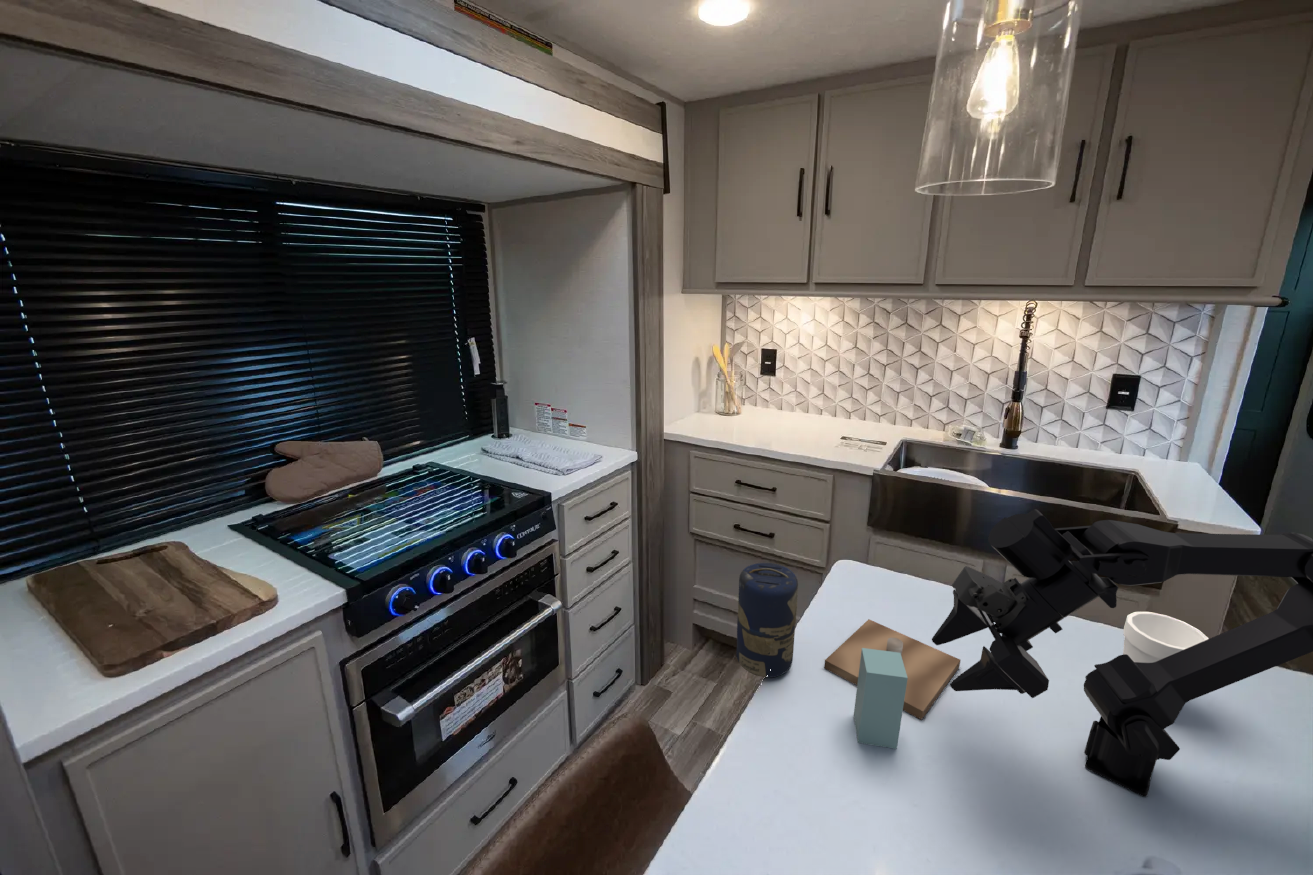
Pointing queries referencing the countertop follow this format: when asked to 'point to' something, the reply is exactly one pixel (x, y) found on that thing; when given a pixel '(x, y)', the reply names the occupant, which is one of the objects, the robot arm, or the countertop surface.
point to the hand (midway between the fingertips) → (942, 664)
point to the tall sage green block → (880, 697)
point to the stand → (920, 661)
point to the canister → (766, 619)
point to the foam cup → (1157, 636)
